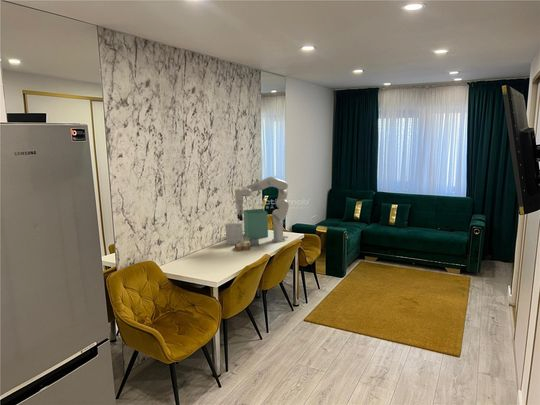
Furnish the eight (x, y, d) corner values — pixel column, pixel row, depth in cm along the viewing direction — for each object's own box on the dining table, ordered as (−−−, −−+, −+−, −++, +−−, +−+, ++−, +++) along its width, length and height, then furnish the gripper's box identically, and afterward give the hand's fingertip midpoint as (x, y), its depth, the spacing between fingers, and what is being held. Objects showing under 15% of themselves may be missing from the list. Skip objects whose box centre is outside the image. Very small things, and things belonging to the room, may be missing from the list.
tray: (247, 246, 363) (247, 242, 363) (250, 249, 352) (249, 245, 351) (234, 247, 360) (234, 243, 360) (237, 251, 349) (237, 247, 348)
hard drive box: (243, 242, 379) (242, 222, 376) (242, 244, 372) (241, 224, 369) (227, 242, 381) (227, 222, 378) (226, 244, 373) (225, 224, 370)
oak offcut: (247, 245, 369) (247, 242, 368) (249, 246, 366) (249, 243, 365) (243, 245, 367) (243, 242, 366) (245, 246, 364) (245, 243, 363)
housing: (257, 244, 370) (257, 237, 369) (258, 245, 365) (258, 239, 364) (249, 245, 368) (249, 238, 366) (250, 246, 363) (250, 240, 362)
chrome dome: (262, 246, 364) (262, 244, 364) (263, 247, 360) (263, 246, 360) (258, 246, 363) (258, 245, 363) (259, 247, 359) (259, 246, 359)
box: (244, 233, 414) (243, 210, 410) (263, 232, 419) (262, 208, 415) (248, 238, 392) (247, 214, 387) (268, 237, 397) (267, 212, 392)
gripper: (245, 203, 354) (245, 221, 357) (241, 200, 371) (242, 217, 374) (237, 203, 353) (237, 221, 355) (233, 200, 369) (234, 218, 372)
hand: (240, 219), depth 364 cm, fingers open, 9 cm apart
